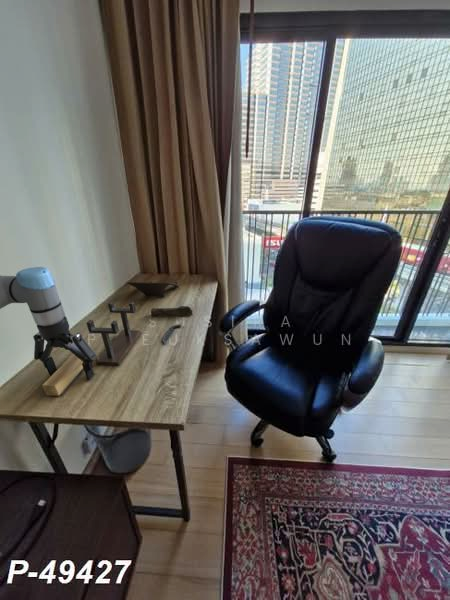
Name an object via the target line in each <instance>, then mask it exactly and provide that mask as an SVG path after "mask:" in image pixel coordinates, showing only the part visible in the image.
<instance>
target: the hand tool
mask: <svg viewBox="0 0 450 600" xmlns="http://www.w3.org/2000/svg"><path fill="white" fill-rule="evenodd" d="M150 313H151V314H150V315H151V317H159V316H161V317H162V316H179V317H187V316H188V317H189V316H191V315H193V310H192V309H191V307H189V305H179V306H178V307H166V308H165V307H161V308H160V307H159V308H158V307H157V308H155V307H152V308H151V309H150Z"/></svg>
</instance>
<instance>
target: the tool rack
mask: <svg viewBox="0 0 450 600" xmlns="http://www.w3.org/2000/svg"><path fill="white" fill-rule="evenodd" d="M135 304H136V303H135V301H130V302H129V303H128V307H129V308H128V307H127V308H126V307H124V308H122V307H116V306H115V303H114V301H113V300H112V301H111V300H110V301H109V302H108V303H107V307H108V311H109V313H110V314H111V313H112V314H120V319H121V322H122V327H123V329H122V330H120V328H119V324H118V320H113V321H111V323H110V327H96V325H95V322H94V320H93V319H88V320H87V322H86V323H85V324H86V327H87V330H88V333H89V334H100V335H101V339H102V342H103V345H104V348H105V350H104V351H103V352H102V354H101V355H100V356H99V357H98V358H97V359H96V360H95V362H96V365H97V366H113V367H115V366H116V367H119V366H120V365H121V364H122V362H123V361H124V359H125V357H126V356H127V355H128V353H129V352H130V350H132V347H133V346H134V344H135V343H136V342H137V340H138V338H139V337H140V336H141V334H142V332H141V330H135V329H131V328H130V324H129V323H130V322H129V319H128V315H127V314H135V312H136V311H137V310H136V305H135ZM110 334H111V335H116V337H115V338H114V339H113V340H112V341H111V337H110Z"/></svg>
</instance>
